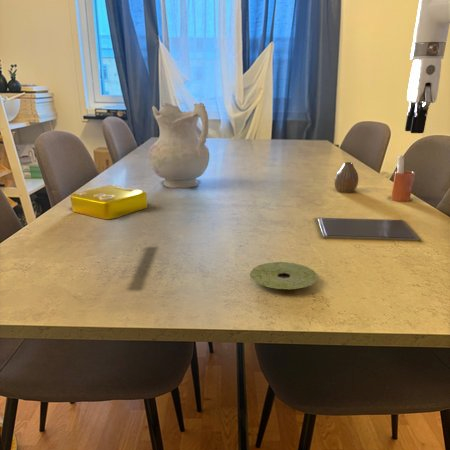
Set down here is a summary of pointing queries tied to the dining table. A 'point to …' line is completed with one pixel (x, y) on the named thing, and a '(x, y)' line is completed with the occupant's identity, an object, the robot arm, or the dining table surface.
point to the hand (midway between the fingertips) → (414, 131)
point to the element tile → (109, 201)
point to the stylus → (401, 164)
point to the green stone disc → (283, 275)
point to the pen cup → (402, 186)
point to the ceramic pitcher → (180, 146)
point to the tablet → (366, 229)
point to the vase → (346, 178)
